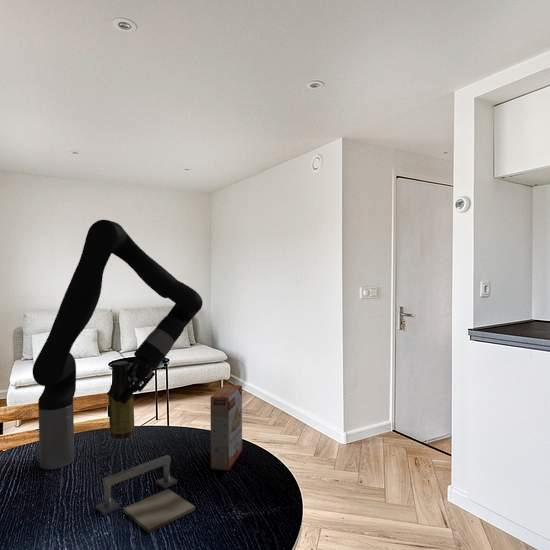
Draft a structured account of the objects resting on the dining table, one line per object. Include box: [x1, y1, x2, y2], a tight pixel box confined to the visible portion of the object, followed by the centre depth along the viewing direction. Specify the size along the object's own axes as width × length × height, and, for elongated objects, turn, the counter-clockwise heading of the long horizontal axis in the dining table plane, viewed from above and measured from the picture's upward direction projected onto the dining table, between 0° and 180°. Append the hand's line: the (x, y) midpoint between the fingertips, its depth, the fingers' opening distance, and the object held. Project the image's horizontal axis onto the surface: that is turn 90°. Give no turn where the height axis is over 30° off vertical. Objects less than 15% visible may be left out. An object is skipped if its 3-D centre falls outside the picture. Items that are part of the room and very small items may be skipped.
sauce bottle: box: [108, 360, 135, 440], centre depth 112 cm, size 7×6×20 cm
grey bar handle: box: [95, 454, 178, 516], centre depth 105 cm, size 4×20×7 cm, turn 136°
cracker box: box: [210, 384, 243, 471], centre depth 125 cm, size 14×6×21 cm, turn 168°
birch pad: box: [122, 488, 196, 534], centre depth 98 cm, size 12×12×1 cm
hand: (115, 399), depth 111 cm, fingers closed on sauce bottle, 6 cm apart
